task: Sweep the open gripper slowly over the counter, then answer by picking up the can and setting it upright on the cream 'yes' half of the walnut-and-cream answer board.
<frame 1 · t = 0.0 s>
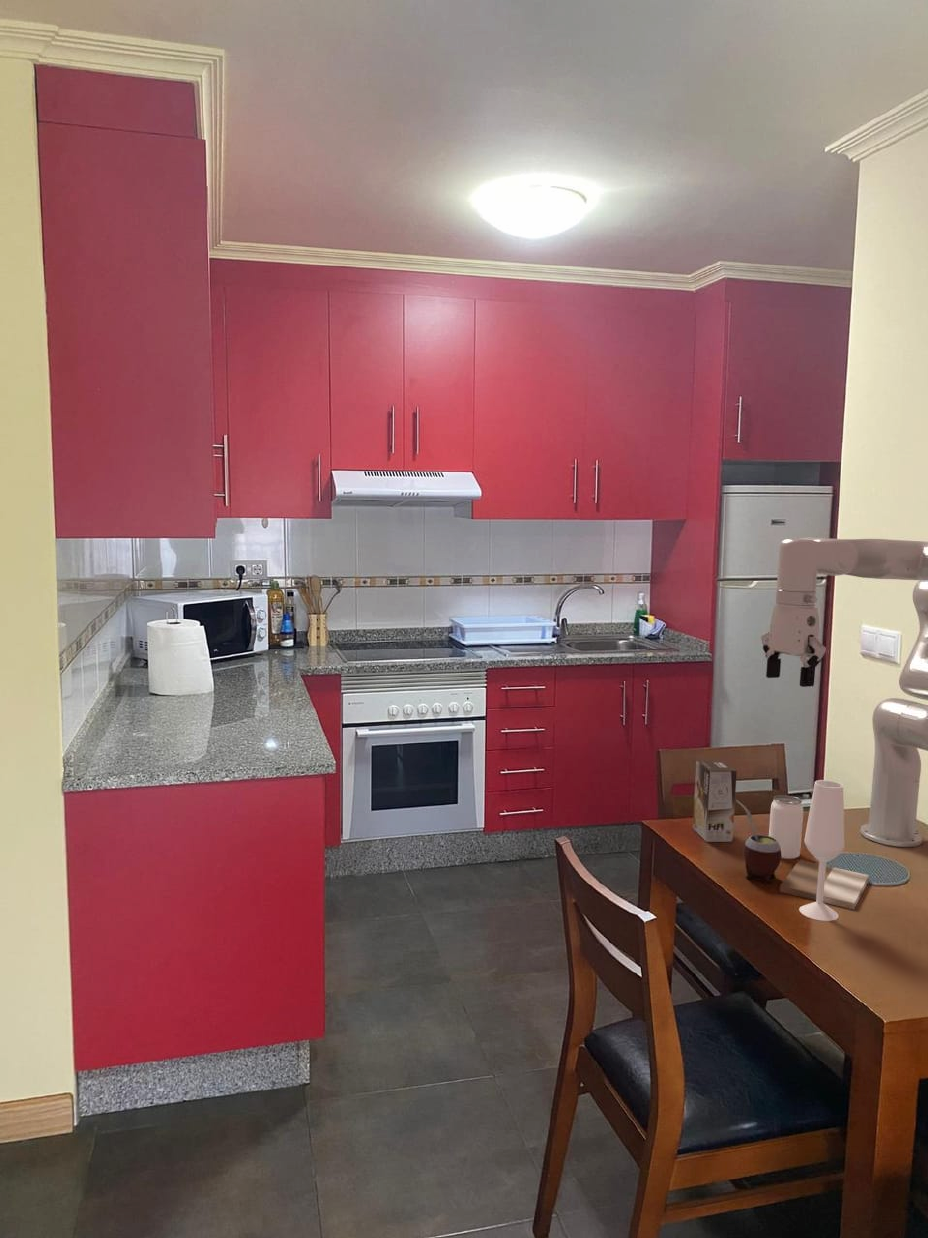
hand: (789, 681, 187), 37 cm above the table, tool pointing down, fingers open, 9 cm apart
coffee box: (711, 835, 202), on the table
can: (783, 855, 192), on the table
answer board: (824, 886, 176), on the table
mate gourd: (757, 878, 179), on the table
champagne flute: (818, 913, 164), on the table
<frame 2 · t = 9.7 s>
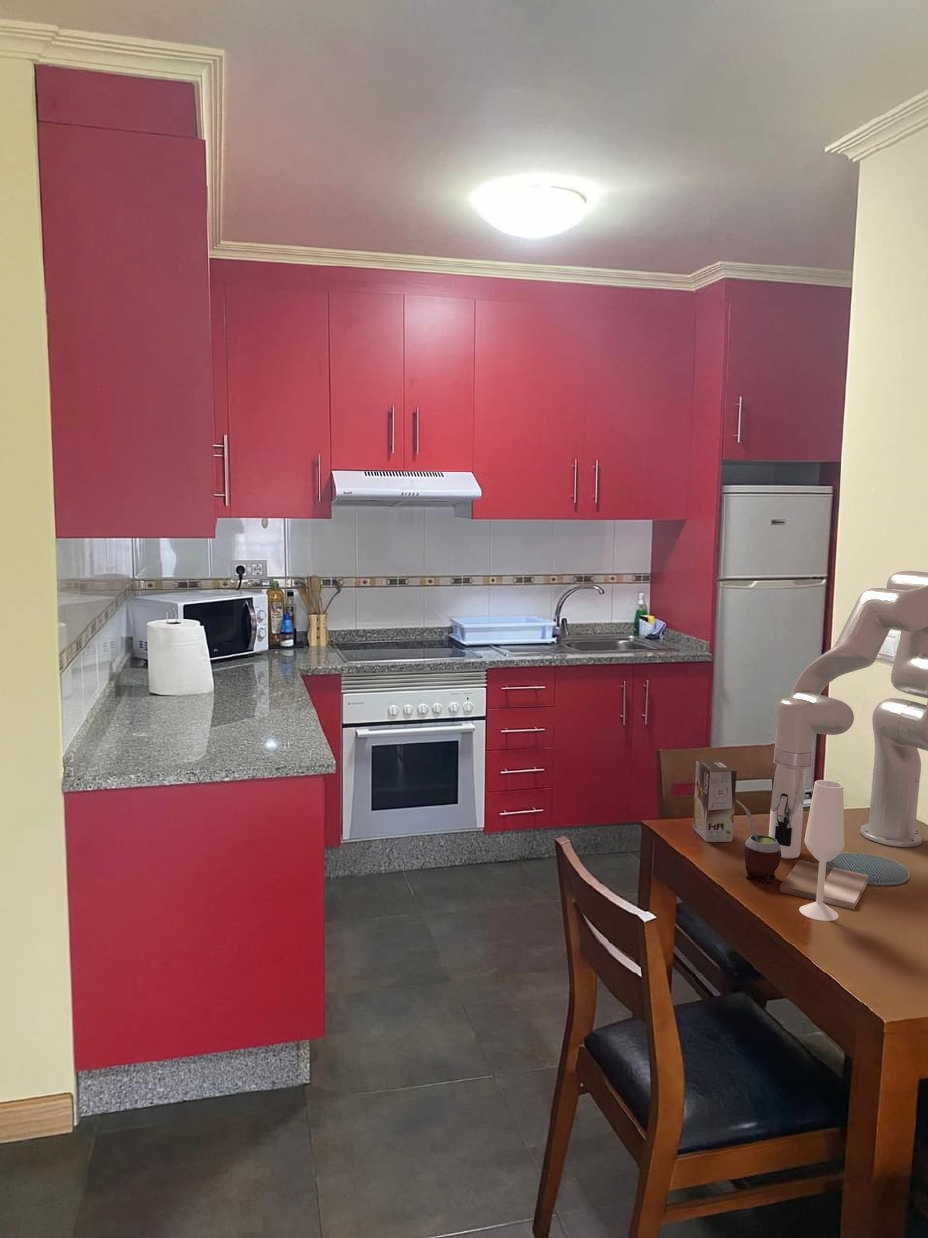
hand: (786, 839, 191), 3 cm above the table, tool pointing down, fingers closed on can, 6 cm apart
can: (783, 854, 192), on the table, touching gripper
everything else where it was.
when the fingers open (6 cm above the table, at t = 17.1 s): can drops 1 cm, resting on answer board.
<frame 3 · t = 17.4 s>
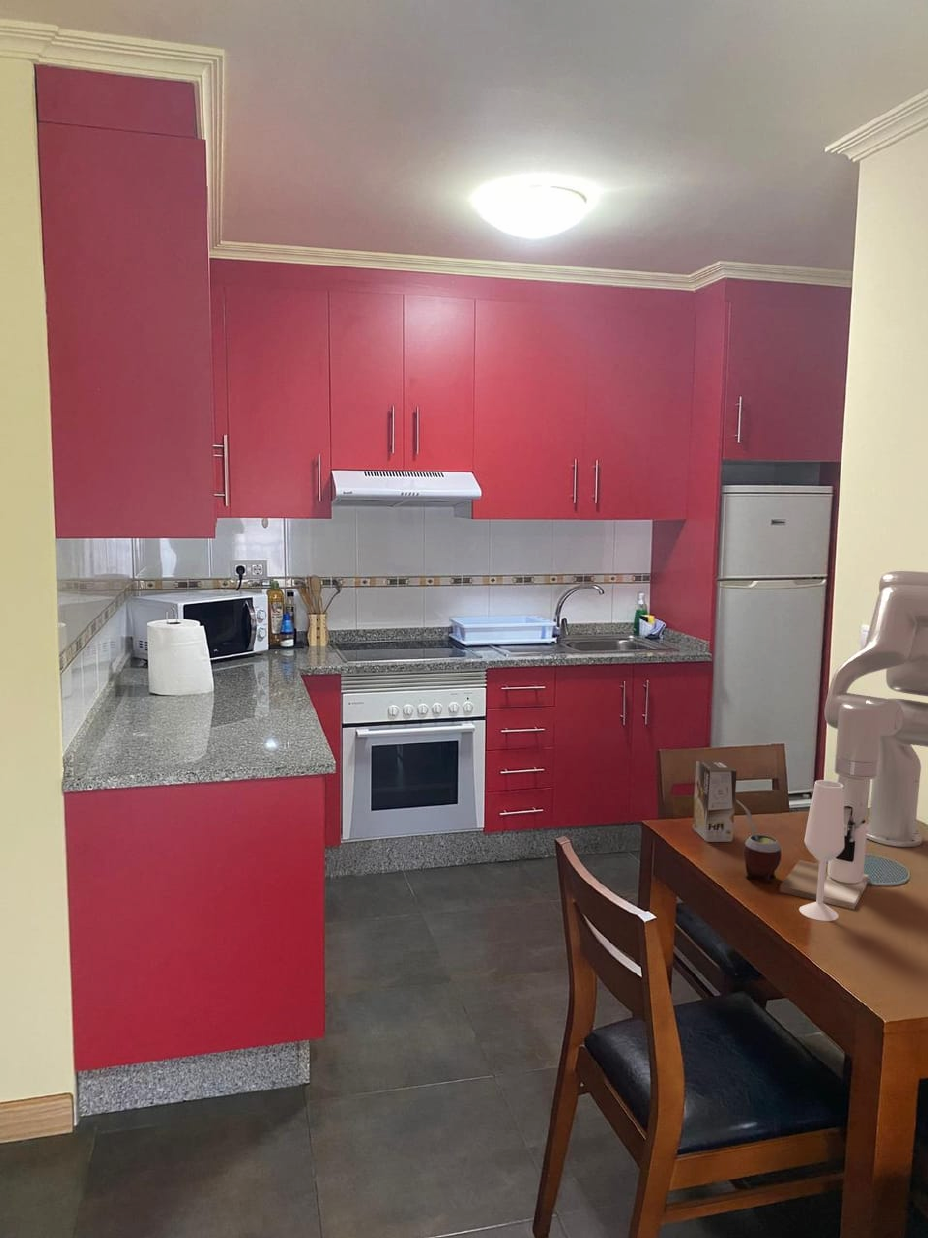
hand: (848, 852, 176), 6 cm above the table, tool pointing down, fingers open, 8 cm apart
can: (844, 879, 177), point 1 cm above the table, touching answer board
everything else where it was.
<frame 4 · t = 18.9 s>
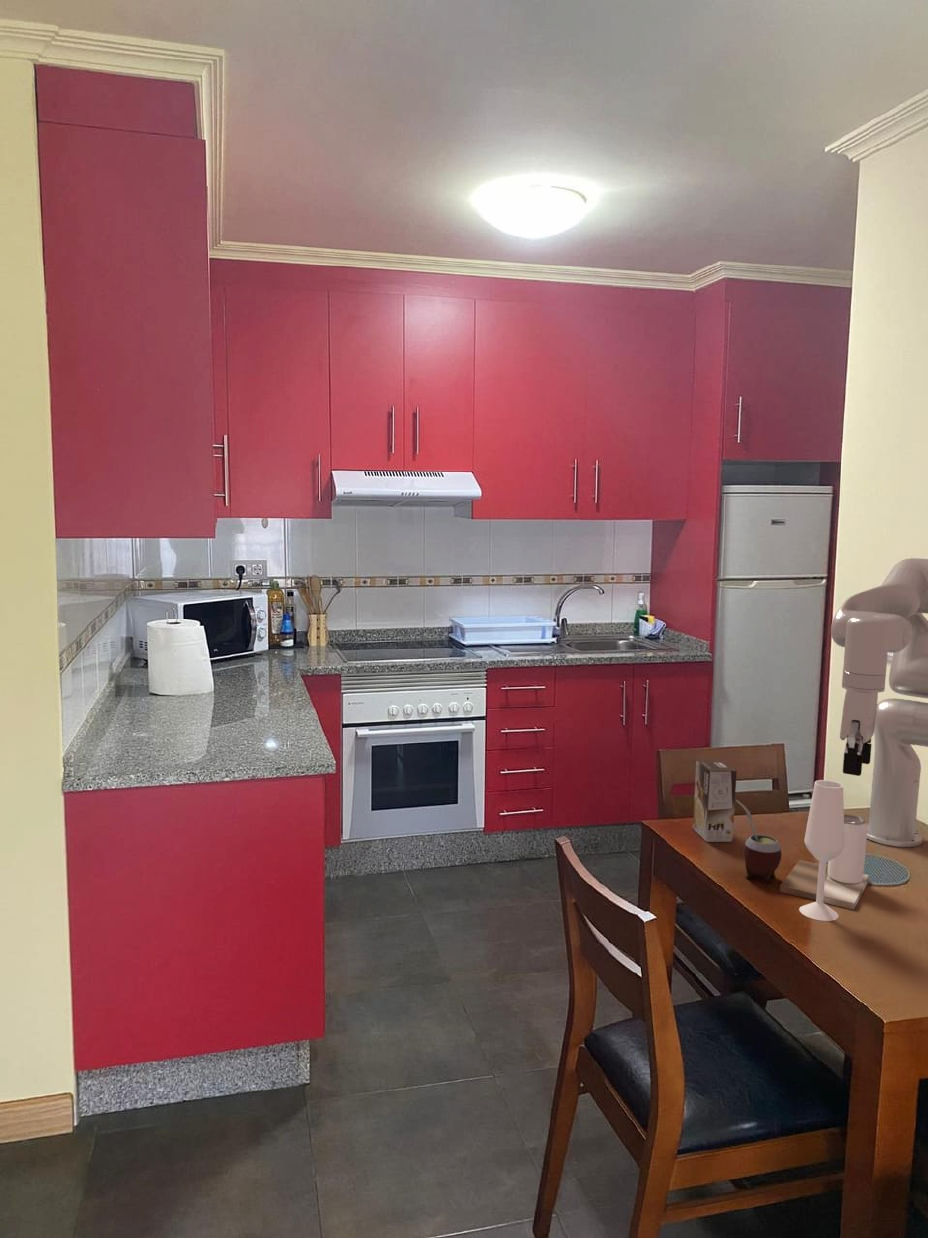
hand: (856, 768, 175), 23 cm above the table, tool pointing down, fingers open, 9 cm apart
nothing on the table moved.
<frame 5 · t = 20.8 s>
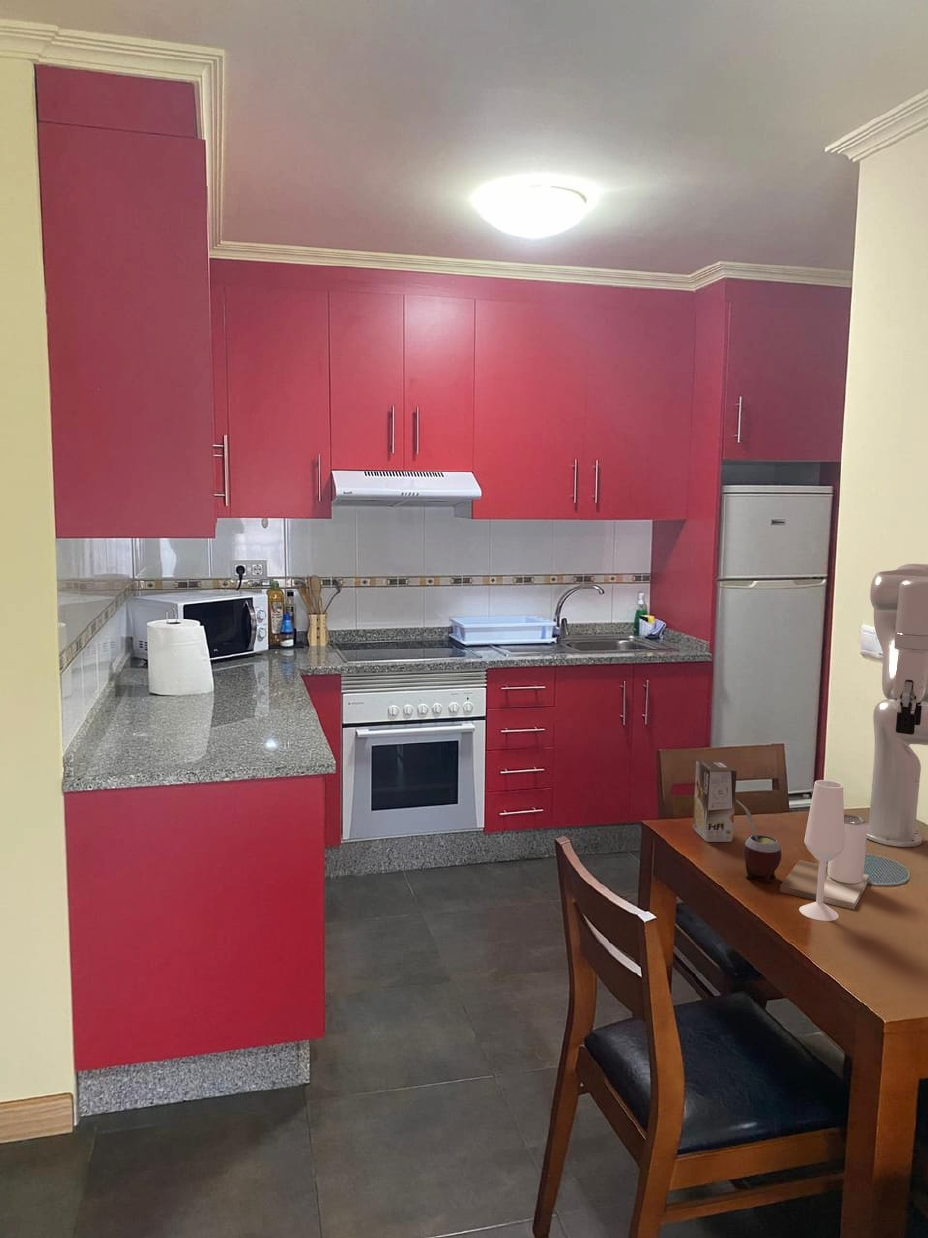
hand: (908, 728, 178), 30 cm above the table, tool pointing down, fingers open, 9 cm apart
nothing on the table moved.
at the end: can inside the target area on the answer board (3.5 cm from its centre), point 1.0 cm above the answer board's base; can tilted 0°; the gripper is holding nothing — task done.
